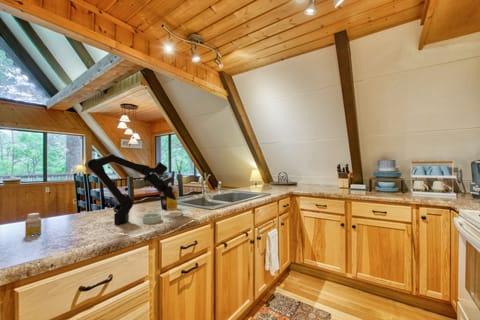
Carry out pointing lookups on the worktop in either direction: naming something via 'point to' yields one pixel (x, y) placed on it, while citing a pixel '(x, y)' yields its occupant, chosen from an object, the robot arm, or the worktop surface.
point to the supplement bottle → (33, 224)
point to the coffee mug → (163, 202)
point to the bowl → (151, 218)
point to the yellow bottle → (172, 200)
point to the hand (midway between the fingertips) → (174, 198)
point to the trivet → (172, 213)
